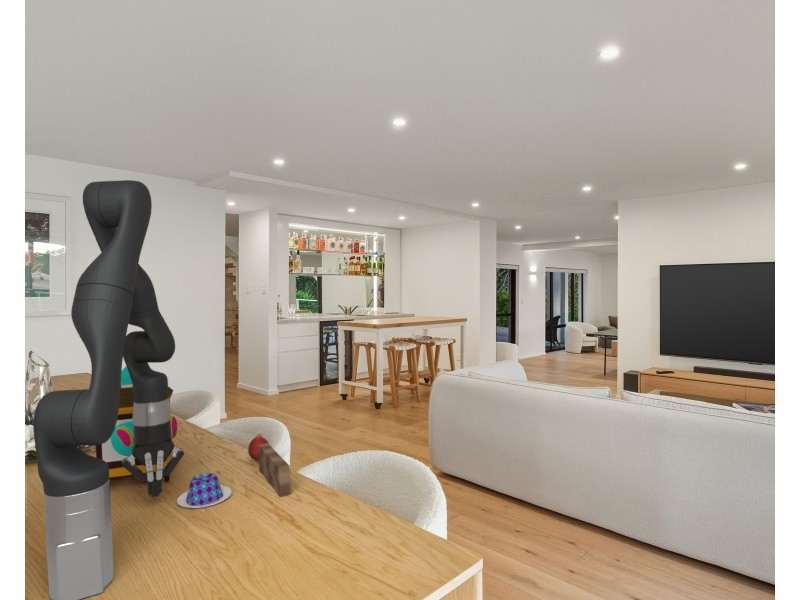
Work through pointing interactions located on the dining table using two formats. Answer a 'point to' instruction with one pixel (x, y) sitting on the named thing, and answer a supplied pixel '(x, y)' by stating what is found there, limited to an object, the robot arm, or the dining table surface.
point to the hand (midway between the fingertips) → (155, 495)
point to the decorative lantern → (127, 435)
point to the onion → (256, 446)
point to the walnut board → (274, 469)
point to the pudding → (204, 491)
